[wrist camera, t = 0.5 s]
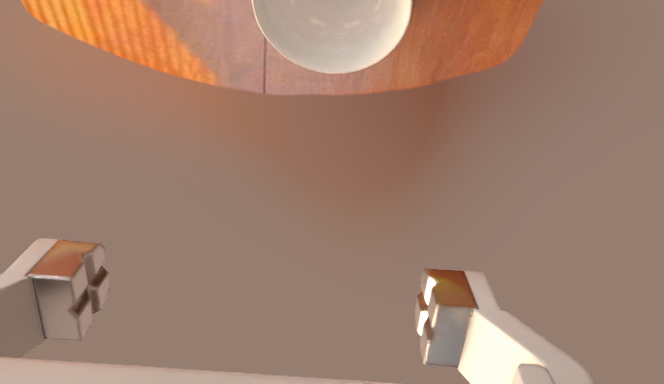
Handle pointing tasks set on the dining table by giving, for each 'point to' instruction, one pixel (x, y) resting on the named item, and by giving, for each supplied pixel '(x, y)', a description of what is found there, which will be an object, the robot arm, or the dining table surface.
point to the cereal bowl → (333, 31)
